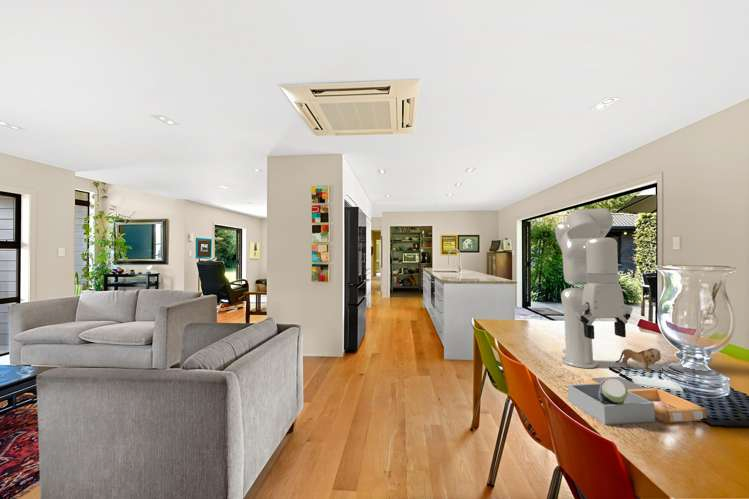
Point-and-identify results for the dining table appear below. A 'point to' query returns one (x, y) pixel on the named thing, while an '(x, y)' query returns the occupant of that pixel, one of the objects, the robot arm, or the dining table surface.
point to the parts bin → (611, 406)
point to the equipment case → (678, 414)
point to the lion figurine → (641, 357)
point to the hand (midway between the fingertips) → (604, 337)
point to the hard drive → (655, 383)
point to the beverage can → (612, 392)
